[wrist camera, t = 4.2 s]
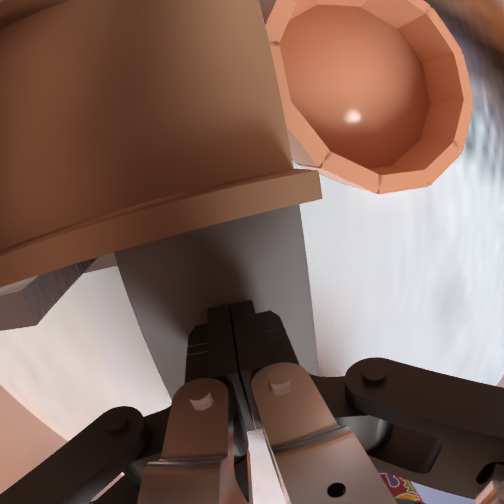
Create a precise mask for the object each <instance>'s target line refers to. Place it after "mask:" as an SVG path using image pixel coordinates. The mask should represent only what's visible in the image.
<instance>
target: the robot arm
mask: <svg viewBox="0 0 504 504" xmlns="http://www.w3.org/2000/svg"><path fill="white" fill-rule="evenodd" d="M231 311H232V313H231ZM251 411H252V412H251ZM252 415H253V417H252ZM253 418H254V422H255V425H256V428H257V429H261V428H262V429H263V433H264V436H265V440H266V444H267V447H268V451H269V454H270V457H271V460H272V463H273V466H274V469H275V472H276V475H277V478H278V481H279V484H280V487H281V490H282V492H283V495H284V498H285V501H286V504H425V503H421V502H418V501H414V500H409V499H401V498H394V497H393V495H392V494H391V492H390V491H389V489H388V487H387V486H386V484H385V483H384V481H383V479H382V478H381V476H380V474H379V473H378V471H377V470H376V468H377V469H379V470H382V471H384V472H387V473H390V474H392V475H395V476H398V477H401V478H403V479H406V480H409V481H412V482H415V483H418V484H421V485H424V486H427V487H431V488H434V489H437V490H440V491H444V492H447V493H451V494H455V495H459V496H463V497H466V498H471V499H475V504H504V388H502V387H497V386H492V385H488V384H483V383H479V382H474V381H470V380H466V379H461V378H457V377H453V376H449V375H445V374H441V373H437V372H433V371H429V370H425V369H422V368H418V367H414V366H410V365H407V364H403V363H399V362H396V361H392V360H389V359H385V358H367V359H363V360H361V361H358V362H356V363H355V364H353V365H352V366H351V367H350V368H349V369H348V371H347V372H346V375H345V376H343V377H319V376H315V375H312V374H310V373H308V372H307V371H306V369H304V368H303V367H302V366H300V364H299V362H298V359H297V357H296V354H295V352H294V349H293V347H292V345H291V342H290V340H289V337H288V335H287V332H286V330H285V328H284V325H283V323H282V320H281V318H280V316H278V315H277V314H275V313H274V312H272V311H271V310H269V311H265V312H260V313H255V309H254V306H253V302H252V300H247V301H242V302H237V303H233V304H231V309H230V305H229V304H228V305H223V306H219V307H214V308H209V309H208V324H202V325H197V326H195V327H194V328H193V330H192V331H191V333H190V334H189V336H188V347H187V357H186V369H185V382H184V385H183V386H181V387H180V388H179V389H178V390H177V391H176V392H175V394H174V396H173V399H172V404H171V406H170V407H168V408H166V409H164V410H162V411H159V412H156V413H154V414H151V415H148V416H145V417H143V416H142V414H141V413H140V412H139V411H138V410H137V409H135V408H133V407H128V406H121V407H116V408H113V409H110V410H108V411H106V412H105V413H103V414H102V415H101V416H100V417H98V418H97V419H96V420H95V421H93V422H92V423H91V424H90V425H89V426H87V427H86V428H85V429H84V430H82V431H81V432H80V433H79V434H77V435H76V436H75V437H74V438H72V439H71V440H70V441H69V442H67V443H66V444H65V445H64V446H62V447H61V448H60V449H59V450H57V451H56V452H55V453H54V454H52V455H51V456H50V457H49V458H47V459H46V460H45V461H44V462H42V463H41V464H40V465H38V466H37V467H36V468H35V469H33V470H32V471H30V472H29V473H28V474H27V475H25V476H24V477H23V478H21V479H20V480H19V481H18V482H16V483H15V484H14V485H12V486H11V487H10V488H8V489H7V490H6V491H4V492H3V493H2V494H0V504H253V497H252V481H251V465H250V453H249V449H248V437H247V431H252V430H255V429H254V423H253ZM122 472H123V473H124V474H125V475H124V476H123V477H122V478H120V479H119V480H118V481H117V482H116V483H115V484H114V485H113V486H112V487H111V488H109V489H108V490H107V491H106V492H105V493H104V494H103V495H102V496H101V497H99V498H98V499H97V500H95V501H93V502H90V501H91V499H92V498H93V497H94V496H96V495H97V494H98V493H99V492H100V491H101V490H103V489H104V488H105V487H106V486H107V485H108V484H109V483H110V482H112V481H113V480H114V479H115V478H116V477H117V476H118V475H119V474H120V473H122Z"/></svg>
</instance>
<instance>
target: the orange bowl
mask: <svg viewBox="0 0 504 504" xmlns="http://www.w3.org/2000/svg"><path fill="white" fill-rule="evenodd" d="M265 26H266V31H267V35H268V39H269V44H270V48H271V53H272V58H273V62H274V67H275V72H276V76H277V81H278V86H279V91H280V96H281V101H282V107H283V112H284V117H285V123H286V128H287V134H288V139H289V145H290V151H291V157H292V159H293V161H294V162H295V163H297V164H298V165H299V166H302V167H304V168H307V169H309V170H318V172H319V174H321V175H324V176H326V177H329V178H331V179H333V180H336V181H338V182H340V183H343V184H345V185H348V186H352V187H355V188H359V189H362V190H366V191H369V192H372V193H376V194H384V193H390V192H396V191H402V190H408V189H415V188H421V187H428V185H431V184H432V183H433V182H434V181H435V180H436V179H437V178H438V177H439V176H440V175H441V174H442V173H443V172H444V171H445V170H446V169H447V168H448V167H449V166H450V165H451V164H452V163H453V162H454V161H455V160H456V159H457V158H458V157H459V155H460V154H461V151H463V148H464V144H465V140H466V136H467V132H468V128H469V124H470V120H471V115H472V110H473V105H472V104H471V103H473V98H472V92H471V87H470V82H469V77H468V72H467V68H466V63H465V59H464V55H463V54H462V53H461V52H462V50H461V49H460V47H459V46H458V44H457V42H456V41H455V39H454V38H453V36H452V35H451V33H450V32H449V30H448V29H447V27H446V26H445V24H444V23H443V21H442V20H441V19H440V17H439V16H438V15H437V13H436V12H435V10H434V9H433V8H430V5H429V4H428V3H426V2H425V1H423V0H276V2H275V4H274V7H273V9H272V11H271V13H270V15H269V17H268V20H267V22H266V24H265Z"/></svg>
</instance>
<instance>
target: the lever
mask: <svg viewBox="0 0 504 504" xmlns="http://www.w3.org/2000/svg"><path fill="white" fill-rule="evenodd" d="M318 199H322V193H321V185H320V178H319V172H318V170H306V169H293V163H292V157H291V151H290V145H289V139H288V134H287V128H286V123H285V117H284V112H283V107H282V101H281V96H280V91H279V86H278V81H277V76H276V72H275V67H274V62H273V58H272V53H271V48H270V44H269V39H268V35H267V31H266V26H265V22H264V18H263V14H262V10H261V6H260V2H259V0H0V288H1V287H4V286H7V285H10V284H13V283H16V282H19V281H22V280H25V279H28V278H31V277H34V276H37V275H40V274H44V273H47V272H50V271H53V270H56V269H60V268H63V267H66V266H69V265H73V264H76V263H79V262H82V261H86V260H89V259H93V258H96V257H99V256H103V255H106V254H110V253H113V252H114V255H115V258H116V261H117V264H118V267H119V271H120V274H121V277H122V280H123V282H124V285H125V288H126V291H127V294H128V297H129V300H130V302H131V305H132V308H133V310H134V313H135V316H136V318H137V321H138V324H139V326H140V329H141V331H142V334H143V336H144V339H145V341H146V343H147V346H148V348H149V351H150V353H151V355H152V358H153V360H154V362H155V365H156V367H157V369H158V371H159V374H160V376H161V378H162V380H163V382H164V384H165V387H166V389H167V391H168V393H169V395H170V397H171V399H173V396H174V394H175V392H176V391H177V390H178V389H179V388H180V387H181V386H183V385H184V382H185V369H186V357H187V347H188V336H189V334H190V333H191V331H192V330H193V328H194V327H195V326H197V325H202V324H208V309H209V308H214V307H219V306H223V305H228V304H229V305H230V309H231V304H233V303H237V302H242V301H247V300H252V302H253V306H254V309H255V313H260V312H265V311H269V310H271V311H272V312H274V313H275V314H277V315H278V316H280V318H281V320H282V323H283V325H284V328H285V330H286V332H287V335H288V337H289V340H290V342H291V345H292V347H293V349H294V352H295V354H296V357H297V359H298V362H299V364H300V366H302V367H303V368H304V369H306V371H307V372H308V373H310V374H312V375H315V376H318V366H317V354H316V342H315V331H314V321H313V311H312V302H311V293H310V284H309V275H308V267H307V259H306V251H305V243H304V236H303V229H302V221H301V214H300V208H299V204H301V203H305V202H310V201H314V200H318ZM231 313H232V311H231Z"/></svg>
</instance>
